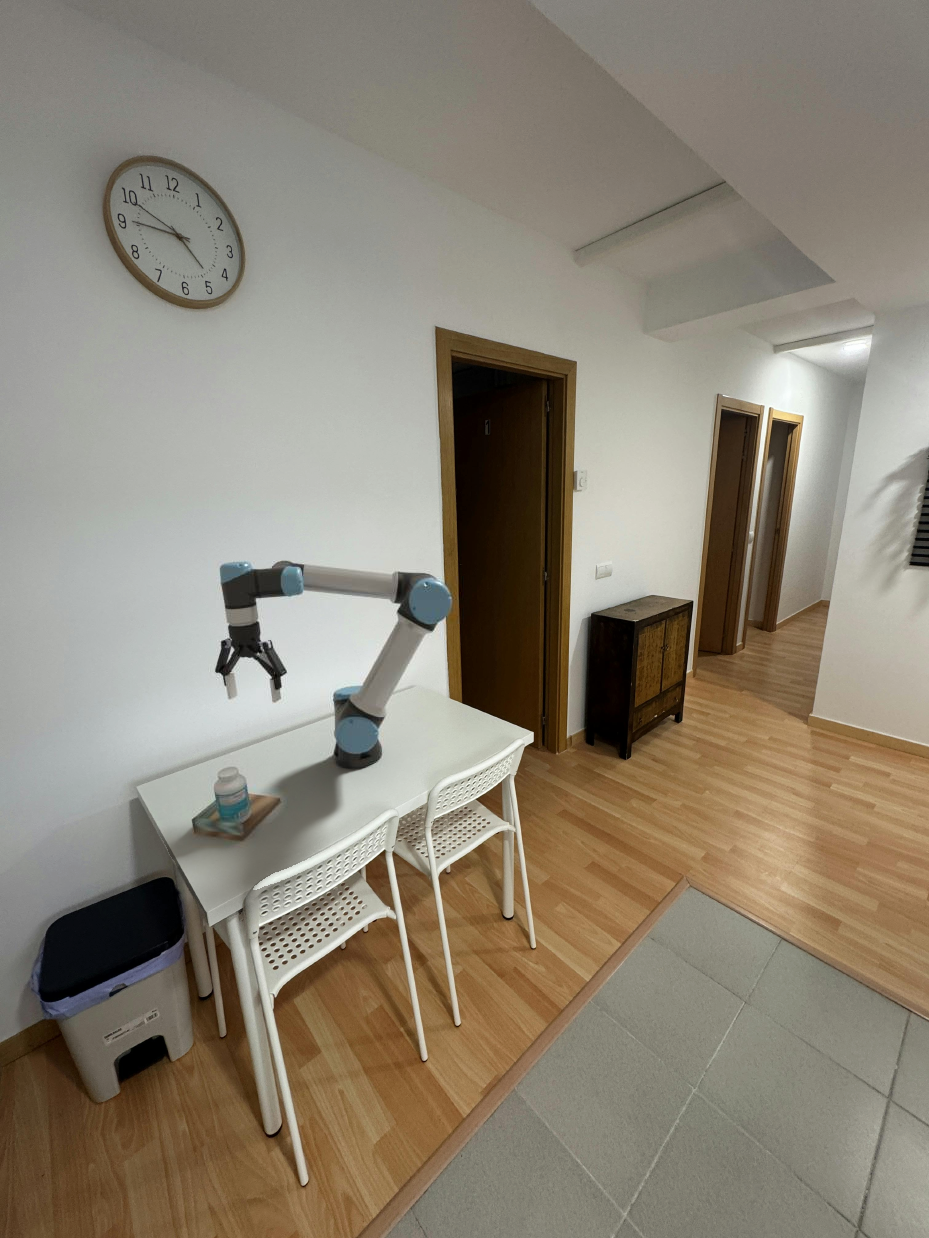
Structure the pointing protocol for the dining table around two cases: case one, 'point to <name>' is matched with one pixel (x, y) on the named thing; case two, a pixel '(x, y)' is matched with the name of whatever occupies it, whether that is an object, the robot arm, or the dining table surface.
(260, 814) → the rail board
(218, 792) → the pill bottle
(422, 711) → the dining table surface
